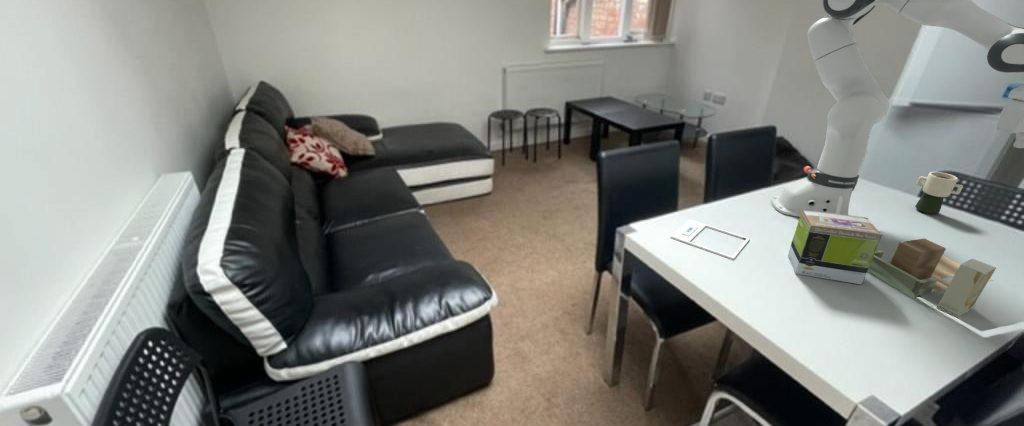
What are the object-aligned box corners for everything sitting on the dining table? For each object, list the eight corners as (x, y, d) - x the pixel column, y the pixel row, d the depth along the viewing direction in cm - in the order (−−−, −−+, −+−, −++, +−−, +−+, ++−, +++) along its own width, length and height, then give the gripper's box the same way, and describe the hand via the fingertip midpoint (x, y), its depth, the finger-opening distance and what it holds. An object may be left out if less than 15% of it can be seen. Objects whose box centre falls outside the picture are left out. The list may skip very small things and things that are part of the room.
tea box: (848, 265, 118) (869, 216, 112) (861, 286, 110) (884, 235, 103) (786, 255, 123) (802, 207, 116) (793, 274, 114) (812, 224, 107)
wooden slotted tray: (932, 254, 123) (939, 240, 121) (991, 283, 111) (1000, 268, 109) (859, 266, 118) (865, 252, 116) (913, 298, 106) (921, 282, 104)
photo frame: (689, 218, 140) (749, 237, 130) (689, 221, 141) (748, 241, 130) (670, 235, 130) (734, 257, 120) (670, 238, 131) (733, 261, 120)
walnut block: (909, 267, 116) (924, 238, 111) (929, 278, 111) (946, 248, 107) (885, 272, 114) (900, 242, 110) (905, 283, 109) (921, 252, 105)
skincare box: (958, 319, 99) (985, 274, 93) (934, 308, 102) (959, 264, 97) (971, 311, 102) (998, 267, 96) (947, 300, 105) (972, 257, 99)
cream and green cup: (948, 213, 147) (967, 177, 141) (945, 220, 142) (965, 183, 137) (907, 203, 154) (923, 168, 148) (903, 209, 150) (920, 173, 144)
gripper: (1063, 87, 110) (1033, 140, 116) (1005, 90, 105) (977, 146, 111) (1099, 92, 104) (1065, 148, 111) (1039, 96, 100) (1007, 154, 106)
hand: (1020, 147), depth 111 cm, fingers closed
